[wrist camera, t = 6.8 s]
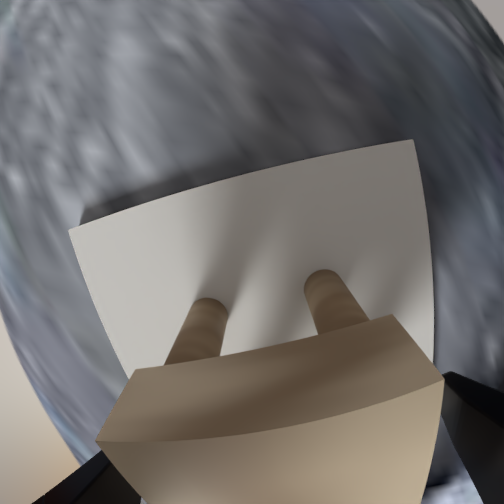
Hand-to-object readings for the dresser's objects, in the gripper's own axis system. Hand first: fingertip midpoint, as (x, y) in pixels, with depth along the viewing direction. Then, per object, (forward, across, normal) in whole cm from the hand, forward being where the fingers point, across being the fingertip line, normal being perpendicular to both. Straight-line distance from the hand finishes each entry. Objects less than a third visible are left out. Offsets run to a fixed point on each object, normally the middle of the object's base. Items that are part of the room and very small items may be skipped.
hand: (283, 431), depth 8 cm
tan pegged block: (+4, 0, 0) cm, 4 cm away
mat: (+5, 0, 0) cm, 5 cm away
